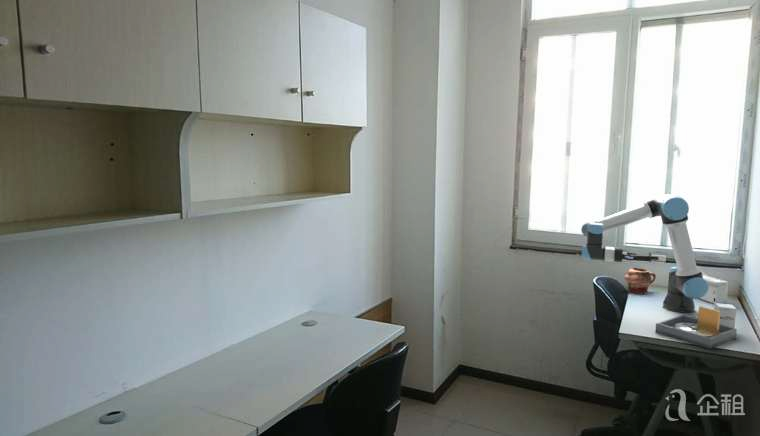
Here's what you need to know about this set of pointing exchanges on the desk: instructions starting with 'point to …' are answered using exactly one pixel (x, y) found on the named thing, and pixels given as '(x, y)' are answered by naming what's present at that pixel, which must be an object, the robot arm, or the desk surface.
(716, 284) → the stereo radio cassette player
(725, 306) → the supplement box
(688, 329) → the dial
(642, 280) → the orange ceramic pot
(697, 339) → the gray rectangular tray
